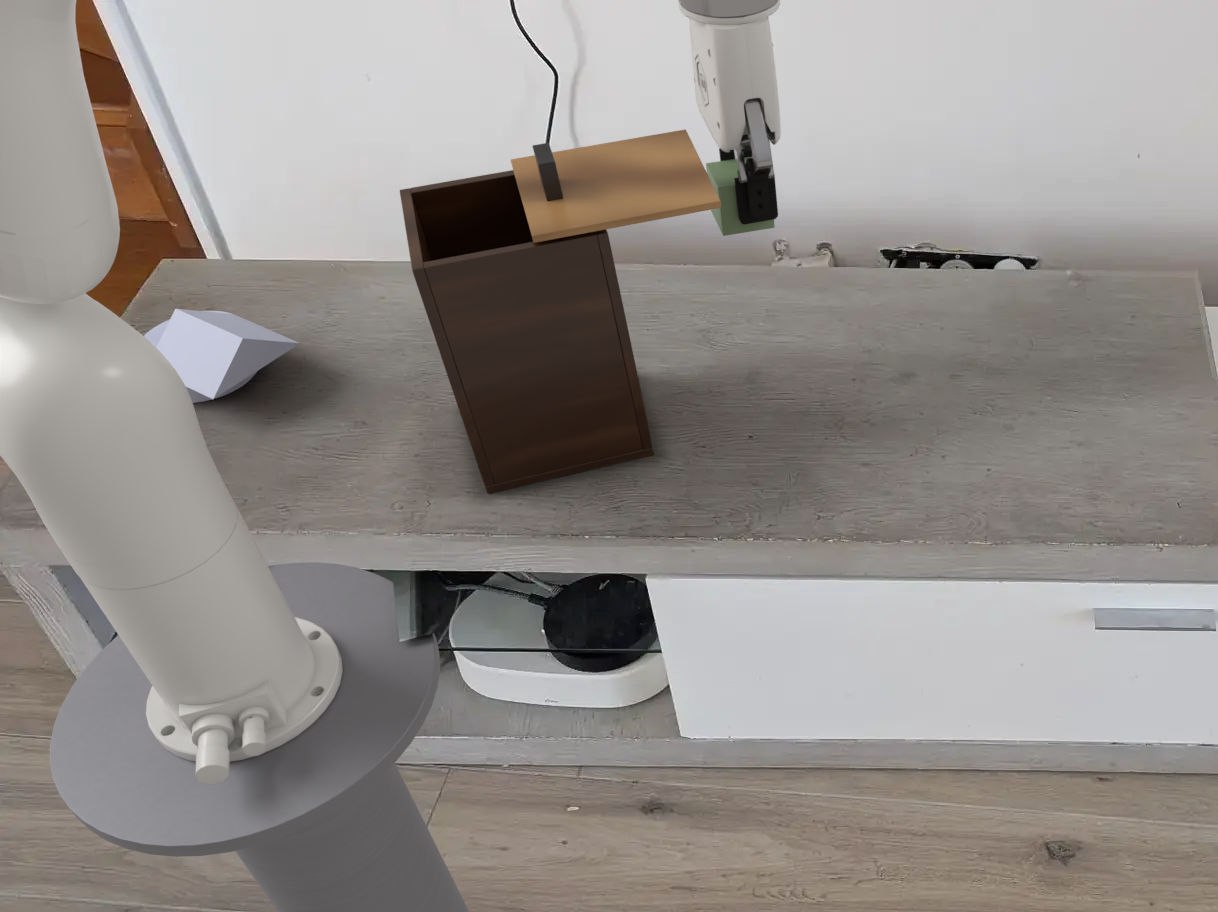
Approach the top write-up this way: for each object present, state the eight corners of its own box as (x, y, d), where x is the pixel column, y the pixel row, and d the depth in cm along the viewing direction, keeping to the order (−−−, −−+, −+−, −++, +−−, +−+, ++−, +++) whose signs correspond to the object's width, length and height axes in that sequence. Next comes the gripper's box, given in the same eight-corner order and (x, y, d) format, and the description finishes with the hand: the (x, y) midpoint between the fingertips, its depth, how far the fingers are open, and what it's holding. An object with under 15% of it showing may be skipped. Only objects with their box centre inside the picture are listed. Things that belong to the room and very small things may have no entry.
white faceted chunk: (313, 373, 118) (215, 330, 123) (286, 311, 113) (185, 268, 118) (228, 430, 113) (129, 382, 117) (196, 366, 108) (94, 319, 112)
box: (654, 455, 111) (608, 233, 96) (487, 494, 107) (412, 270, 92) (628, 374, 118) (581, 157, 103) (471, 409, 115) (399, 189, 100)
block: (774, 227, 111) (771, 179, 108) (723, 236, 110) (718, 187, 107) (761, 202, 114) (757, 155, 111) (710, 210, 113) (705, 163, 110)
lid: (721, 208, 98) (715, 163, 95) (533, 243, 94) (522, 198, 92) (686, 136, 105) (680, 93, 103) (512, 166, 102) (500, 122, 99)
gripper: (654, -49, 103) (684, 165, 116) (703, 37, 92) (731, 264, 105) (748, -60, 105) (768, 152, 118) (808, 23, 94) (822, 247, 107)
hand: (750, 203), depth 111 cm, fingers closed on block, 4 cm apart
